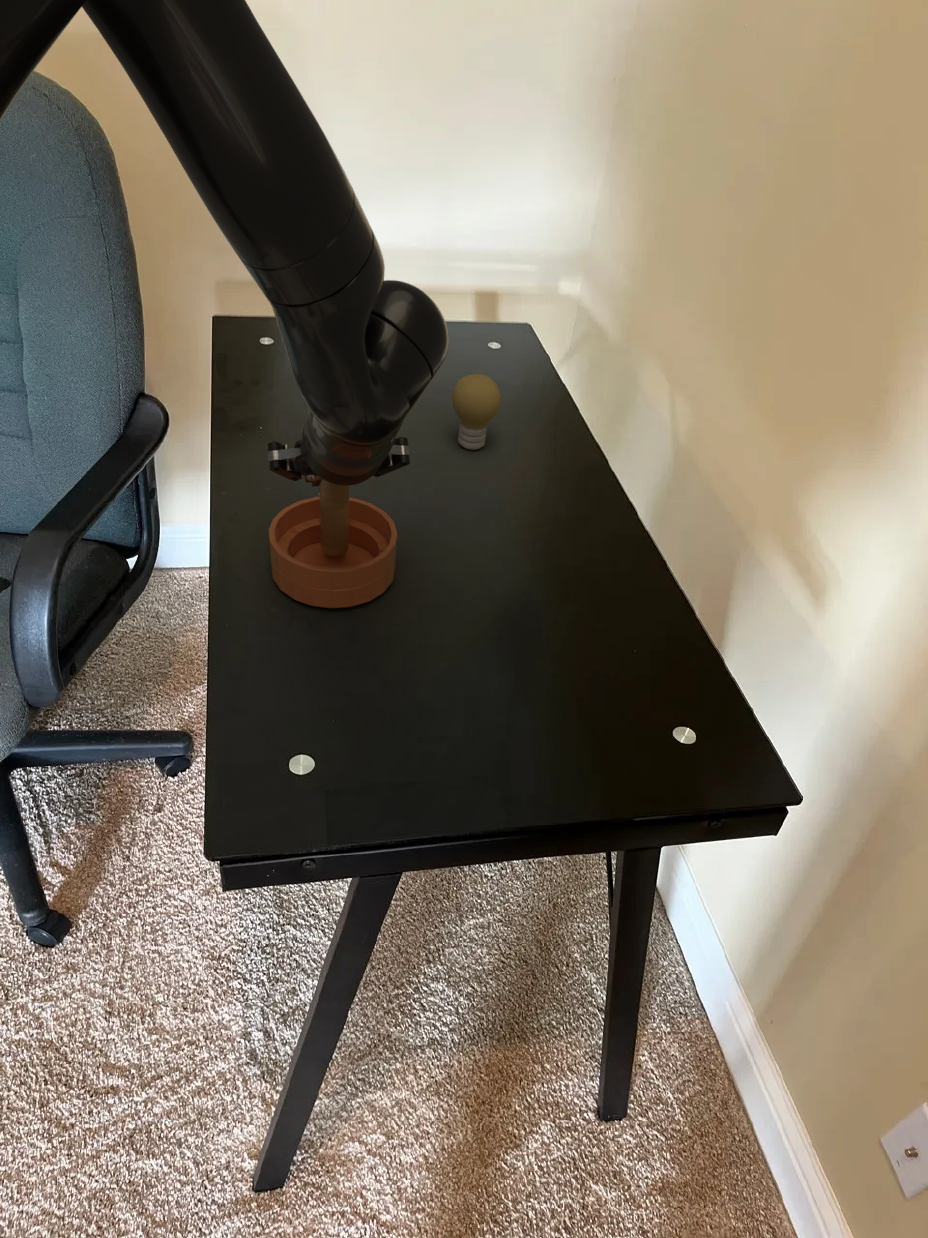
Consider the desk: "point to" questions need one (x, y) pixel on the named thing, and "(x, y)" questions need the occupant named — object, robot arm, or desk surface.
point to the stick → (334, 518)
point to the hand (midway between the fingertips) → (331, 475)
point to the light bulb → (475, 408)
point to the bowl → (328, 576)
